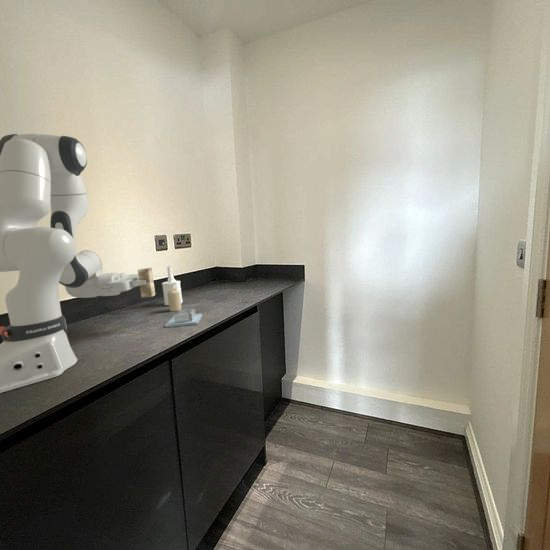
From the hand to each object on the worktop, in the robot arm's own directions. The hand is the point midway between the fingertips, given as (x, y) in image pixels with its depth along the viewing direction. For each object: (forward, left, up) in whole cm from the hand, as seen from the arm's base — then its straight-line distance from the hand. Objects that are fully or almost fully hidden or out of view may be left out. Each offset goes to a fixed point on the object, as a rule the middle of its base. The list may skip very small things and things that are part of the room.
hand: (148, 281), depth 115 cm
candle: (+17, +14, -18) cm, 28 cm away
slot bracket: (+9, -9, -17) cm, 21 cm away
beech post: (-1, +1, -6) cm, 6 cm away
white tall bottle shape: (+24, +27, -18) cm, 40 cm away
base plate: (+8, -8, -18) cm, 21 cm away
